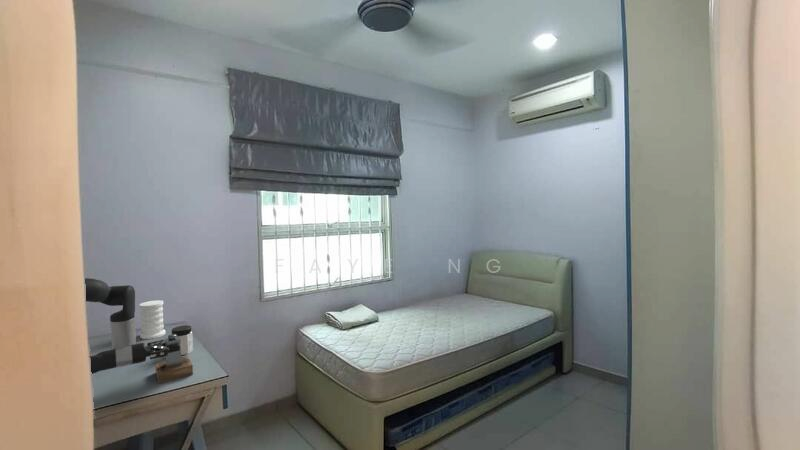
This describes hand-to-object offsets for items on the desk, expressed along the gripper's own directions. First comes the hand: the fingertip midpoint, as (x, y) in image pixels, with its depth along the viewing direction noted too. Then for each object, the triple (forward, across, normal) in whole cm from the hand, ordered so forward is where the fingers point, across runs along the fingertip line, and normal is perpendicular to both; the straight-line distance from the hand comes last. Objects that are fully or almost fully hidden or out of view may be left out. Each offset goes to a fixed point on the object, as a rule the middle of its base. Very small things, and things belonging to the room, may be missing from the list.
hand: (178, 344), depth 152 cm
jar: (+4, +23, +12) cm, 26 cm away
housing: (-2, 0, +8) cm, 8 cm away
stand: (-2, 0, +12) cm, 12 cm away
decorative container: (-5, +60, +12) cm, 61 cm away
